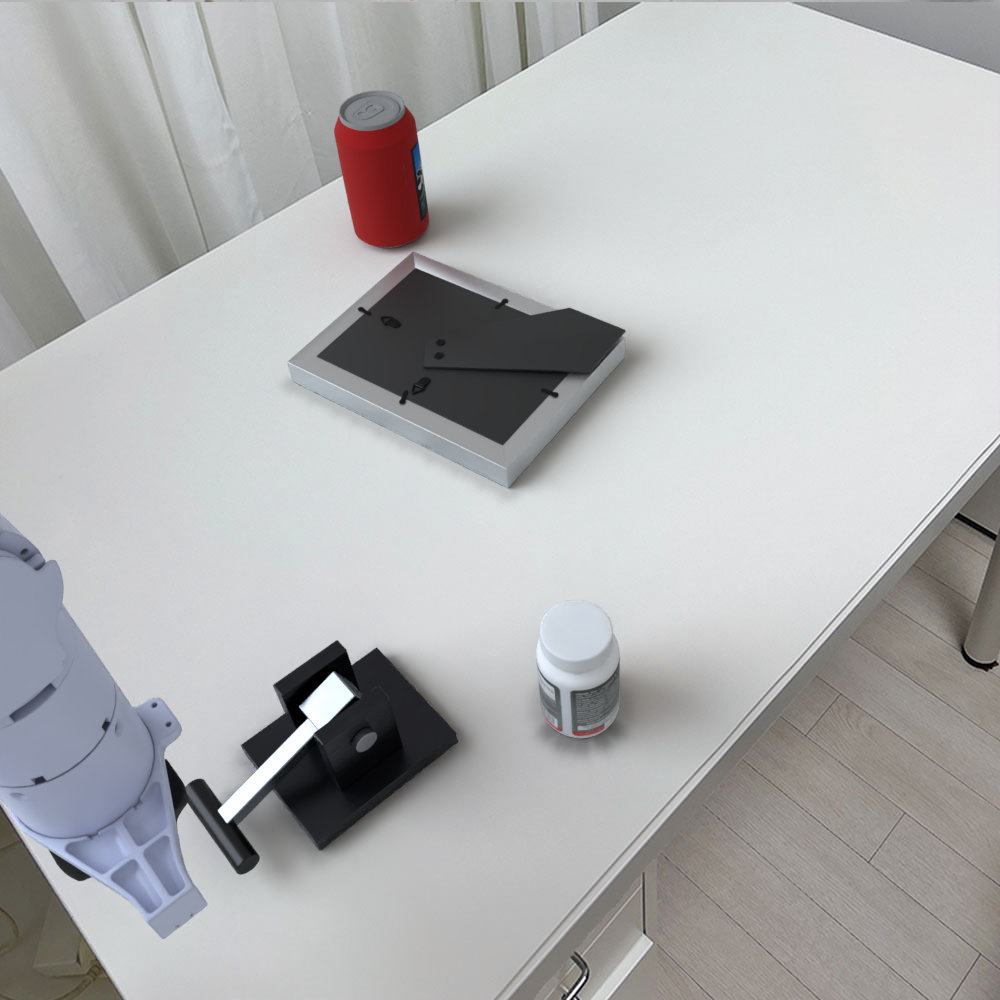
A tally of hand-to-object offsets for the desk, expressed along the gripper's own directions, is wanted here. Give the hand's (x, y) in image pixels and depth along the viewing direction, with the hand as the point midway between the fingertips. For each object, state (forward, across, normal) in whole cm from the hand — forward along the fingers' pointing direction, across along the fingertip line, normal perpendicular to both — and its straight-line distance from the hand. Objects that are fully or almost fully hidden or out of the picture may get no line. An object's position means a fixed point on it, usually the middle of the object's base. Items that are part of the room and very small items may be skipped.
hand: (155, 857), depth 51 cm
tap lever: (+8, +4, -8) cm, 12 cm away
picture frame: (+11, +25, -37) cm, 46 cm away
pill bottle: (+11, -3, -24) cm, 26 cm away
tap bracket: (+10, +4, -12) cm, 16 cm away
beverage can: (+11, +43, -44) cm, 62 cm away
